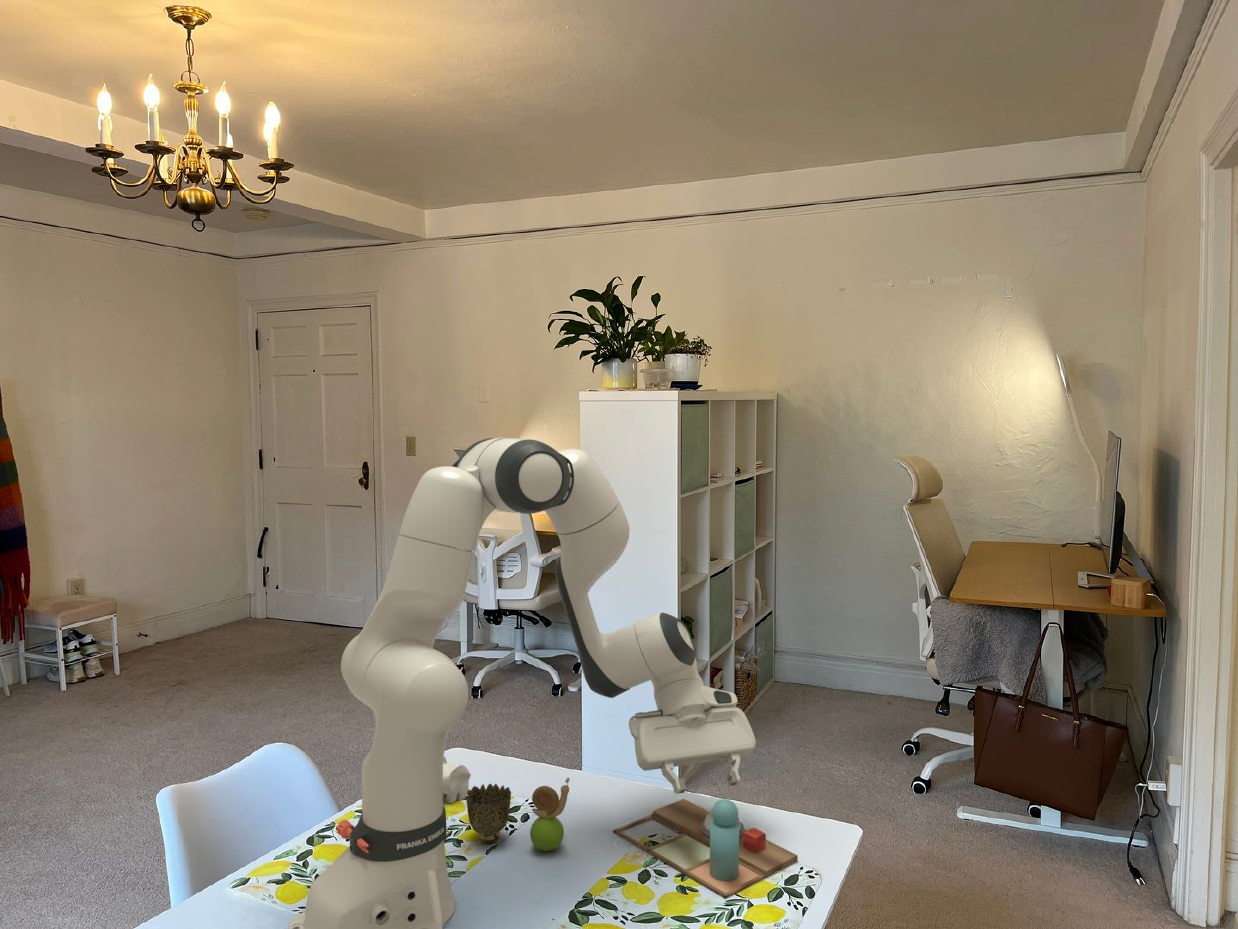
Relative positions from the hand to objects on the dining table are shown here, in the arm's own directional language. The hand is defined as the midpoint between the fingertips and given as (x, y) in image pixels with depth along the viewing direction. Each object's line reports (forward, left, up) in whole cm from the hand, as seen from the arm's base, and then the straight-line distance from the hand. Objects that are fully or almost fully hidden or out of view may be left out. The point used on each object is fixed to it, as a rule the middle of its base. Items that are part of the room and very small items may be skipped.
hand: (708, 788), depth 137 cm
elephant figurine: (-22, +45, -12) cm, 51 cm away
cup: (-24, +27, -12) cm, 38 cm away
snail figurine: (-18, +18, -12) cm, 28 cm away
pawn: (-2, -5, -11) cm, 12 cm away
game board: (+2, +3, -12) cm, 13 cm away
